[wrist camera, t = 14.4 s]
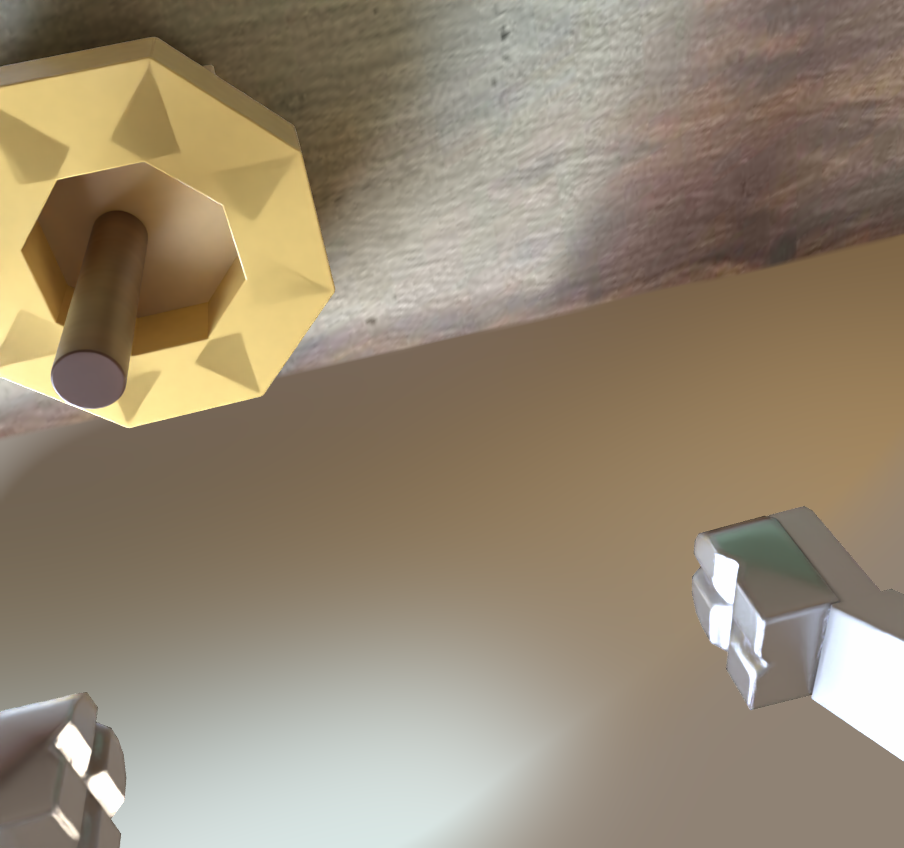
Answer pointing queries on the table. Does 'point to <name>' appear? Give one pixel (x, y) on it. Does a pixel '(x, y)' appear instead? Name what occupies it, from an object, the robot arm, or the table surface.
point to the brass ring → (190, 162)
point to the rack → (126, 267)
